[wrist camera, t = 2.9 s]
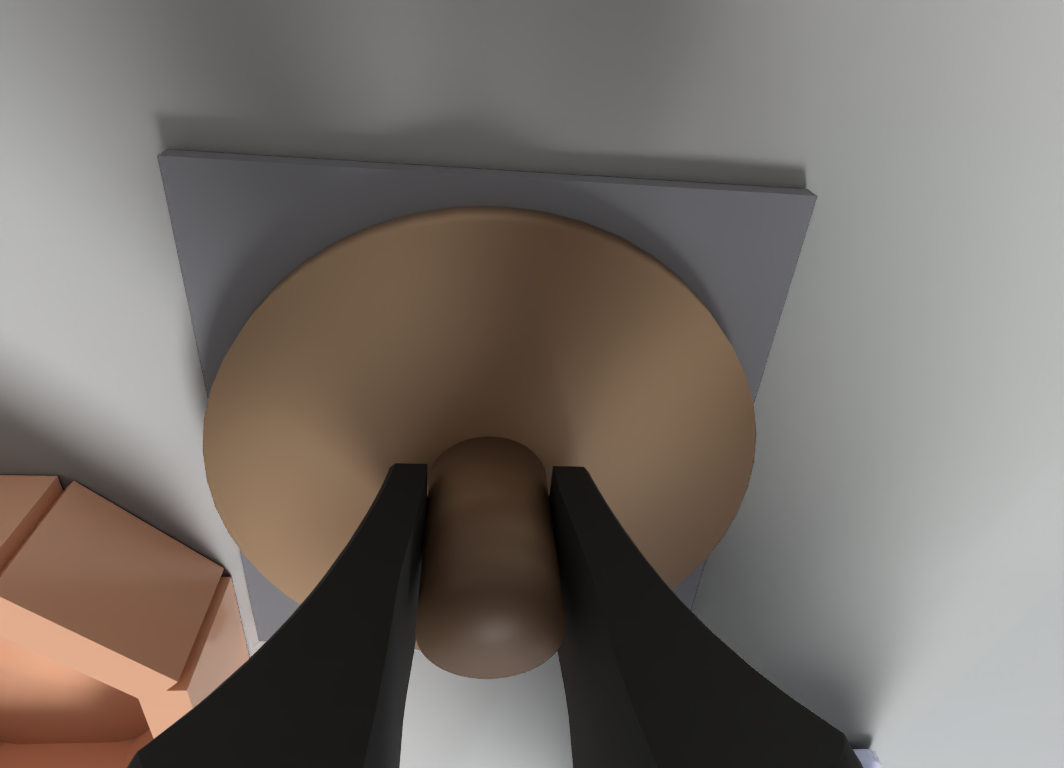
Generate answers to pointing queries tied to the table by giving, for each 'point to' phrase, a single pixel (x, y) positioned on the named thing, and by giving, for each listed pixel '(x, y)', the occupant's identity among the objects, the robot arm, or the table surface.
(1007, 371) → the table surface
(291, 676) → the robot arm
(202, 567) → the bowl
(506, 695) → the table surface
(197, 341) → the mat
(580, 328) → the lid
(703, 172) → the table surface
